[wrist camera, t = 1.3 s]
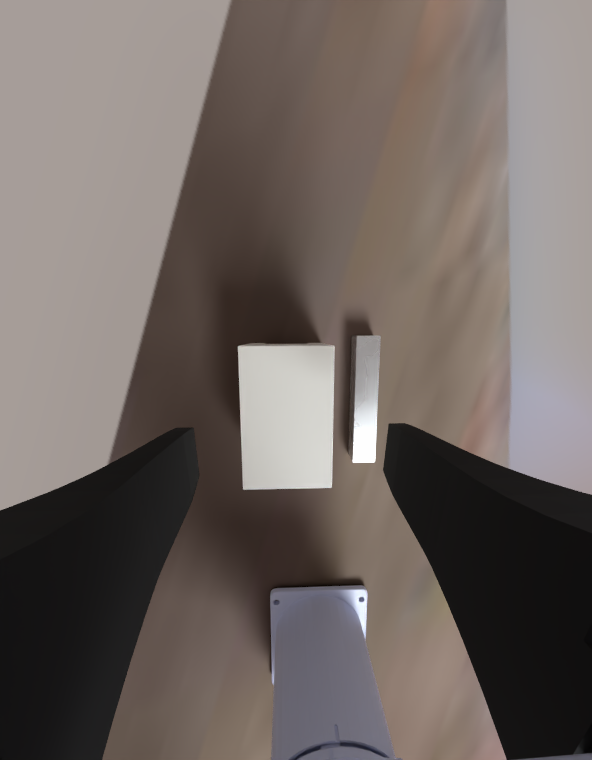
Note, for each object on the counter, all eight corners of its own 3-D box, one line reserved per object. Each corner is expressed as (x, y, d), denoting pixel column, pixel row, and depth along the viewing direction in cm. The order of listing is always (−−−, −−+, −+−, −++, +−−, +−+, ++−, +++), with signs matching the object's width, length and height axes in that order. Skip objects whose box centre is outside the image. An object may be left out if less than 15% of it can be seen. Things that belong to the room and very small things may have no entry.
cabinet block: (319, 447, 21) (331, 487, 16) (254, 448, 21) (243, 489, 15) (320, 342, 20) (334, 345, 14) (251, 343, 20) (237, 346, 14)
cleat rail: (368, 453, 21) (374, 462, 20) (348, 453, 21) (352, 462, 20) (373, 335, 20) (380, 335, 18) (351, 335, 20) (356, 335, 18)
